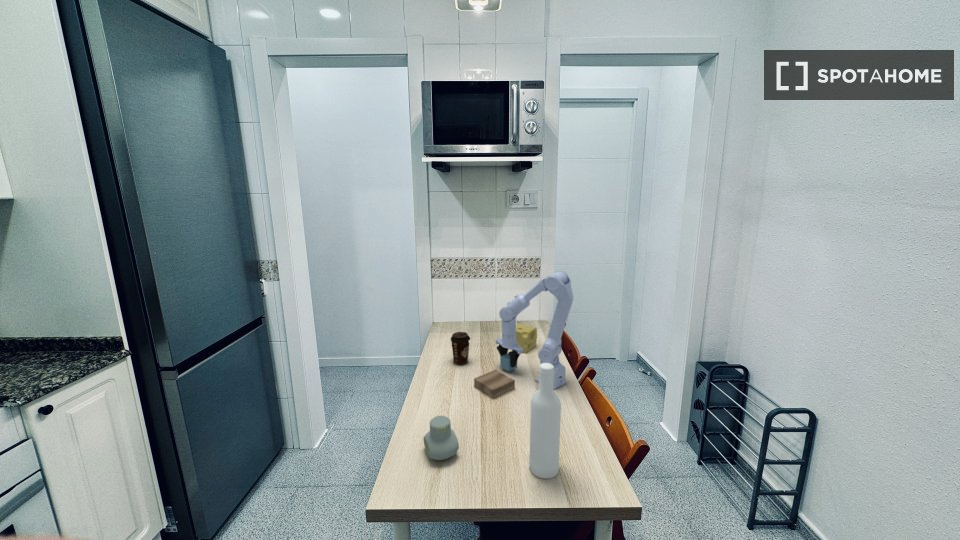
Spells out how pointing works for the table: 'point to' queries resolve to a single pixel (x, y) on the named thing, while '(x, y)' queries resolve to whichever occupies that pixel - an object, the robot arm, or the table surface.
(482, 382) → the plate
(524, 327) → the cheese
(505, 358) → the teal cube
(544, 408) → the bottle
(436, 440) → the air freshener
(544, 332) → the table surface
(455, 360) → the coffee cup
